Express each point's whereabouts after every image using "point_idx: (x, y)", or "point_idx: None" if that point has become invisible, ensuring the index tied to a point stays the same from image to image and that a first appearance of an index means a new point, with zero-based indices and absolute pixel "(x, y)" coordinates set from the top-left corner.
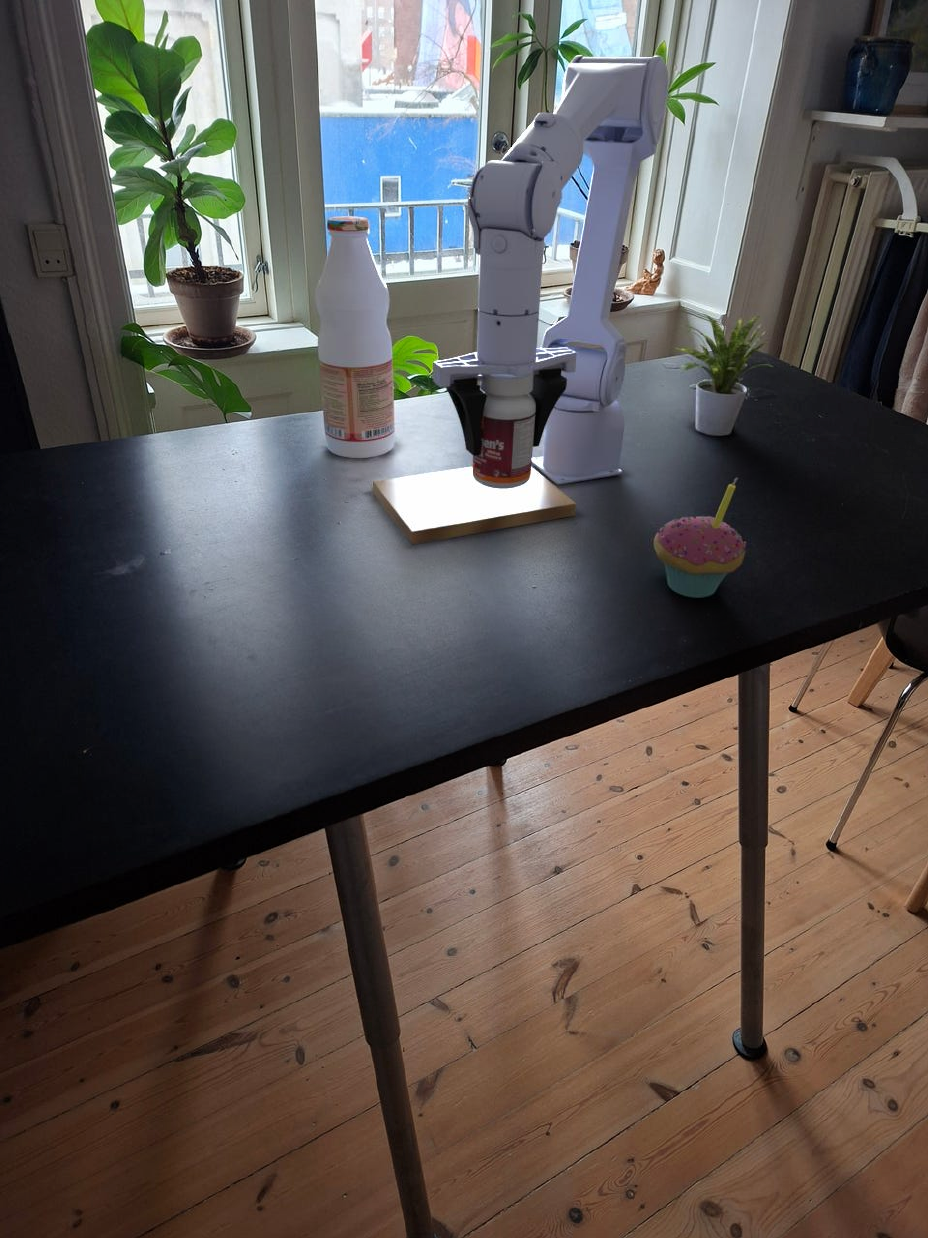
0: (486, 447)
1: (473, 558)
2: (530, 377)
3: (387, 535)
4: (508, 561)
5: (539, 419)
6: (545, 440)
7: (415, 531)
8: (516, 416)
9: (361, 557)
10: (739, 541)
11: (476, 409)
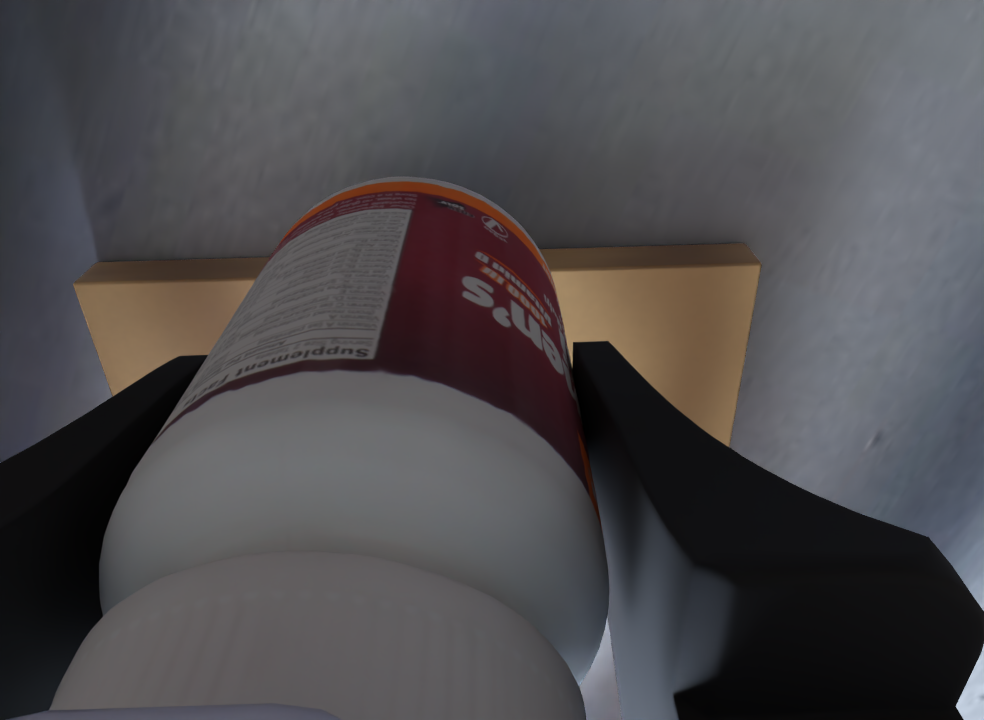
0: (552, 339)
1: (588, 75)
2: None
3: (784, 329)
4: (469, 2)
5: (117, 439)
6: None
7: (747, 264)
8: (350, 383)
9: (941, 217)
10: None
11: (729, 497)
